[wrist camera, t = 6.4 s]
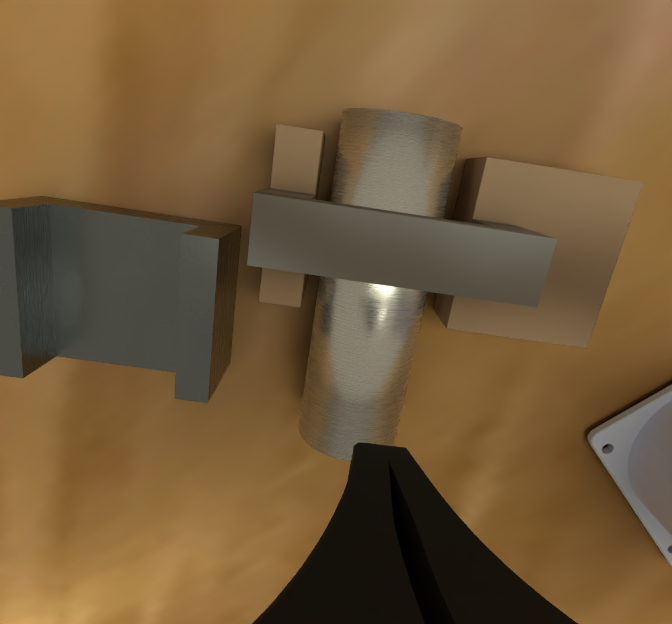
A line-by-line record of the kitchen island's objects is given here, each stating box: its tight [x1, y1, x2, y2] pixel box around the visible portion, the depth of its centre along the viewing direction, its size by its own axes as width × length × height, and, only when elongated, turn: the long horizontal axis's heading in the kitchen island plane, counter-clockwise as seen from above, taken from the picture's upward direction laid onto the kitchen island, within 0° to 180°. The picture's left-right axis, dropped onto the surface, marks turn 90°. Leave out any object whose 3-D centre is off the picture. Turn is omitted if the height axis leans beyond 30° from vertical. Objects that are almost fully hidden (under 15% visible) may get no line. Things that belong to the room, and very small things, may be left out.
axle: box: [299, 108, 463, 461], centre depth 17 cm, size 12×4×4 cm, turn 172°
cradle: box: [0, 196, 241, 403], centre depth 17 cm, size 6×8×4 cm
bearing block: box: [247, 124, 644, 349], centre depth 15 cm, size 6×12×6 cm, turn 82°
